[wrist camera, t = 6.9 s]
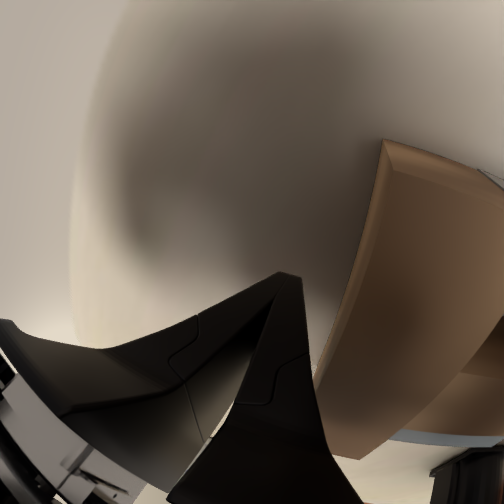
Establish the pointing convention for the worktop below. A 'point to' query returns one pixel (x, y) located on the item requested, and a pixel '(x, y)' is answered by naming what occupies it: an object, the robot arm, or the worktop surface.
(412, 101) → the worktop surface
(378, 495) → the worktop surface
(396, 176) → the t block
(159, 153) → the worktop surface
